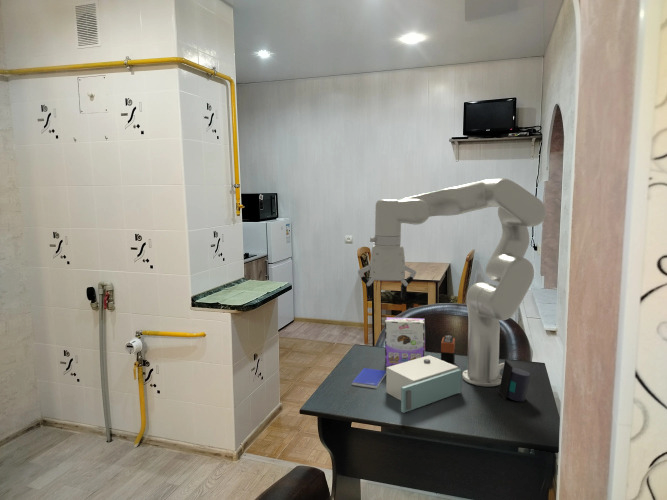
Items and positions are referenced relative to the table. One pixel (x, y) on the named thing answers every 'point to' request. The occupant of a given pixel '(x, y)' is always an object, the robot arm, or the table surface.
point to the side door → (431, 390)
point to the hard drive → (369, 378)
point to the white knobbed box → (414, 373)
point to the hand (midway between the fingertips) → (386, 298)
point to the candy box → (404, 340)
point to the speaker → (514, 383)
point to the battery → (448, 349)
